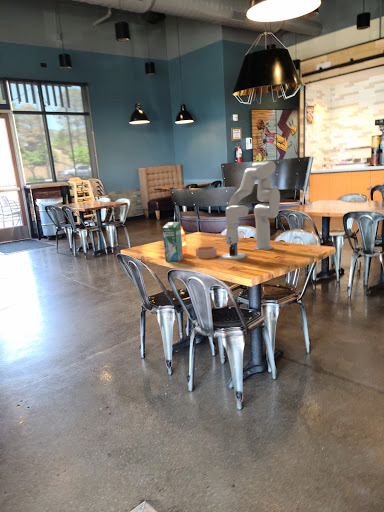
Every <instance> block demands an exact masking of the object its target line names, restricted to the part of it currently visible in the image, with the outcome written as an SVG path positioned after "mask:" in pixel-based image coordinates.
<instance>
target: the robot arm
mask: <svg viewBox="0 0 384 512" xmlns="http://www.w3.org/2000/svg"><path fill="white" fill-rule="evenodd" d="M275 171H276V162H274V161H272V160H264V161H261V160H260V161H255V162H253V163H252V164H251V167H248V168H246V169H244V172H243V176H242V178H241V182H240V185H239V188H238V189H237V190H236V191H235V192H234V194H233V195H232V196H231V197H230V199H229V202H228V206H227V207H225V225H226V226H225V227H226V234H225V236H226V239H225V240H226V241H225V242H226V244H227V246H228V248H229V249H228V251H229V250H230V255H234V254H235V252H234V244H237V245H238V243H239V230H238V229H239V218H240V217H242V218H244V217H247V216H248V214H249V211H250V210H249V207H248V206H247V205H244V204H239V202H240V201H241V200H243V199H244V198H245V197H247V196H248V195H251V194H252V193H253V189H254V185H255V183H256V181H257V192H256V194H257V195H256V199H257V200H258V202H262V203H257V204H256V205H254V208H253V214H254V219H255V236H256V237H255V238H256V239H255V240H256V246H254V250H256V251H270V250H272V249H273V245H271V229H270V228H271V227H270V226H271V224H270V223H271V222H270V220H269V219H275V218H277V217H278V216H279V213H280V212H279V211H280V202H281V200H280V199H281V192H280V190H279V189H278V188H277V187H271V178H270V176H271V175H272V174H274V172H275ZM263 202H264V203H263Z"/></svg>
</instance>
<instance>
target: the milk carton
mask: <svg viewBox="0 0 384 512" xmlns="http://www.w3.org/2000/svg"><path fill="white" fill-rule="evenodd" d="M181 226H182V224H181V221H168V222H167V223H166V224H165V225H164V226H162V235H163V245H164V247H163V248H164V258H165V262H176V261H178V262H180V261H181V260H183V259H184V254H183V249H182V236H181Z"/></svg>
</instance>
